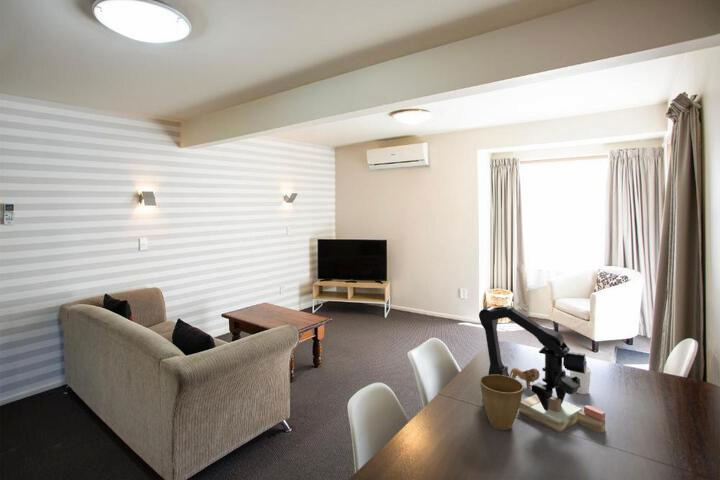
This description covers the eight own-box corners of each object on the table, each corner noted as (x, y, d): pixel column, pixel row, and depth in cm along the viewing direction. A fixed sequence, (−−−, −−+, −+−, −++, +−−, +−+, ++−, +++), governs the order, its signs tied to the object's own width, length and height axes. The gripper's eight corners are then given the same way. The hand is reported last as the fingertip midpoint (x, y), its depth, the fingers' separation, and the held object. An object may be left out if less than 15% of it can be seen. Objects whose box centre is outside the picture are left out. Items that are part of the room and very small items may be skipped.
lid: (558, 424, 126) (559, 409, 126) (529, 410, 136) (529, 396, 136) (582, 412, 134) (582, 397, 133) (553, 399, 143) (553, 386, 143)
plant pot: (497, 440, 123) (496, 395, 122) (472, 417, 137) (472, 377, 136) (532, 432, 127) (532, 388, 126) (505, 411, 141) (505, 371, 140)
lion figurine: (541, 387, 160) (541, 368, 159) (537, 391, 156) (537, 371, 156) (508, 378, 170) (508, 359, 170) (503, 382, 166) (503, 363, 166)
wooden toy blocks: (582, 444, 119) (582, 432, 119) (519, 412, 140) (519, 401, 140) (605, 430, 127) (605, 418, 127) (542, 401, 148) (542, 391, 147)
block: (601, 420, 125) (601, 414, 125) (583, 413, 130) (584, 406, 130) (605, 418, 126) (605, 412, 126) (587, 411, 131) (587, 405, 131)
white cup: (584, 386, 160) (584, 364, 159) (594, 395, 152) (594, 372, 151) (565, 386, 161) (566, 364, 160) (574, 394, 153) (575, 371, 152)
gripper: (560, 380, 121) (560, 424, 122) (589, 368, 131) (589, 409, 132) (530, 369, 131) (530, 410, 132) (559, 358, 140) (559, 396, 141)
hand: (553, 406), depth 134 cm, fingers open, 9 cm apart
